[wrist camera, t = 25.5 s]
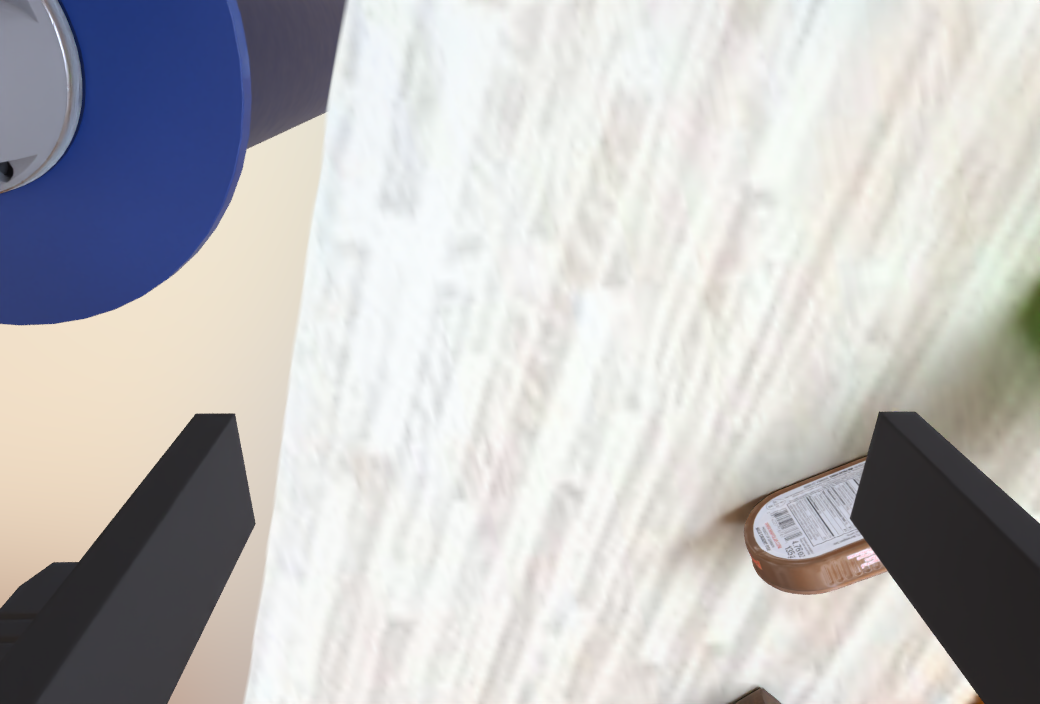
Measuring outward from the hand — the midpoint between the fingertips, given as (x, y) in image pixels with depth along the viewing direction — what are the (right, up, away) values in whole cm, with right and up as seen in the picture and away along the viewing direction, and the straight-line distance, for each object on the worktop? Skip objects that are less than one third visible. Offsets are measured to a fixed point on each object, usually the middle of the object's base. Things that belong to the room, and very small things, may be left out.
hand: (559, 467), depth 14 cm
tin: (+22, -7, +36) cm, 43 cm away
